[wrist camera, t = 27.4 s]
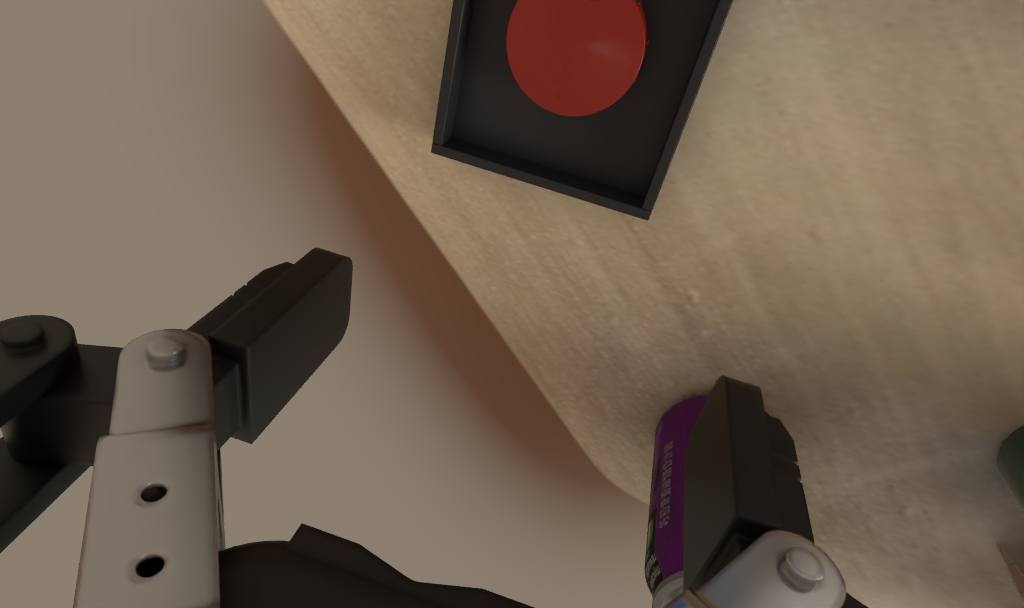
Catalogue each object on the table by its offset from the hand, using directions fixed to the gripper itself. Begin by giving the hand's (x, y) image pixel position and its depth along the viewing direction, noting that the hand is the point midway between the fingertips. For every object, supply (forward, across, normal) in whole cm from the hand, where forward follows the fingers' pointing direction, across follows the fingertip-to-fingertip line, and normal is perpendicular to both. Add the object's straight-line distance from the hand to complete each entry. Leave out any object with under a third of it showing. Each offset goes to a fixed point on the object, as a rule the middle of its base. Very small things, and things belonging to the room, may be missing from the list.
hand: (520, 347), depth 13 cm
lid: (+17, +2, -3) cm, 18 cm away
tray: (+19, +2, -3) cm, 20 cm away
